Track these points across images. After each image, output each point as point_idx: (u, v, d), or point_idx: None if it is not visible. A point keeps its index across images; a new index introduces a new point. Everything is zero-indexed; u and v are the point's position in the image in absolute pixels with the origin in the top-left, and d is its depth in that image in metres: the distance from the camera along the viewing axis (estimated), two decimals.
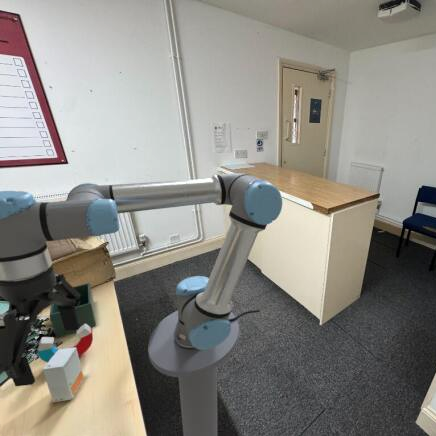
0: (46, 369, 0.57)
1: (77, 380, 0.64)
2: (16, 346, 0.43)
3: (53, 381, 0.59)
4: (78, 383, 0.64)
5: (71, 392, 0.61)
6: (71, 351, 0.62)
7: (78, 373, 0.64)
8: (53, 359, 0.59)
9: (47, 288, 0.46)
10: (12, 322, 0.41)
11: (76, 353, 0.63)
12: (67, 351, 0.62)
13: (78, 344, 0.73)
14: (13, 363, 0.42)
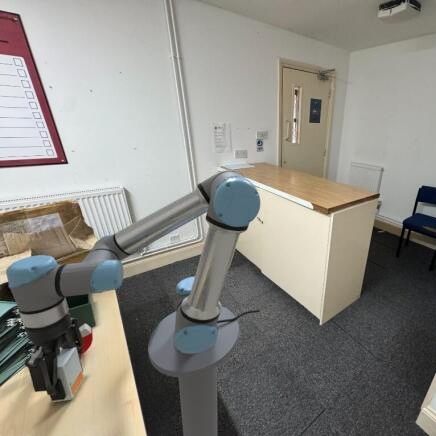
0: None
1: (77, 380, 0.64)
2: (51, 374, 0.56)
3: None
4: (78, 383, 0.64)
5: (71, 392, 0.61)
6: (71, 351, 0.62)
7: (78, 373, 0.64)
8: None
9: (64, 330, 0.56)
10: (41, 363, 0.53)
11: (76, 353, 0.63)
12: (67, 351, 0.62)
13: None
14: (52, 384, 0.57)
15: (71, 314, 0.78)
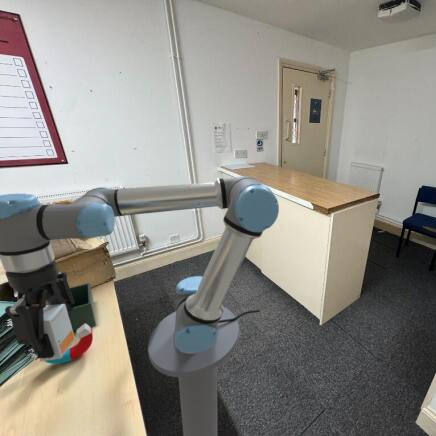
0: None
1: (67, 339, 0.59)
2: (36, 327, 0.52)
3: None
4: (68, 342, 0.59)
5: (60, 350, 0.57)
6: (59, 307, 0.57)
7: (68, 332, 0.59)
8: None
9: (50, 279, 0.52)
10: (24, 311, 0.48)
11: (65, 310, 0.59)
12: (55, 307, 0.57)
13: (78, 344, 0.73)
14: (38, 338, 0.52)
15: (71, 314, 0.78)
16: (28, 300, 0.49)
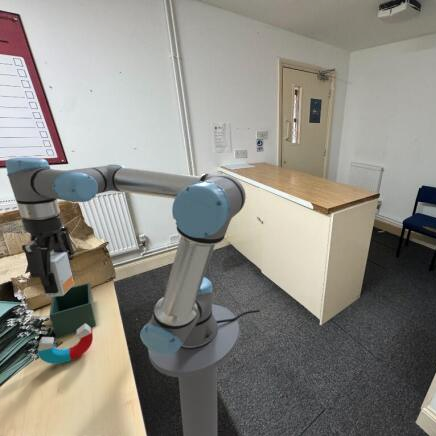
0: None
1: (68, 282, 0.72)
2: (45, 265, 0.65)
3: None
4: (68, 285, 0.73)
5: (62, 289, 0.70)
6: (62, 254, 0.70)
7: (69, 276, 0.73)
8: None
9: (57, 228, 0.65)
10: (36, 249, 0.62)
11: (67, 257, 0.72)
12: (58, 254, 0.70)
13: (78, 344, 0.73)
14: (46, 275, 0.65)
15: (71, 314, 0.78)
16: (39, 242, 0.63)
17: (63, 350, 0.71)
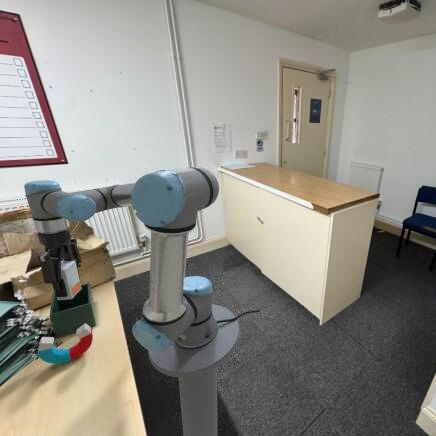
0: None
1: (76, 287, 0.82)
2: (56, 273, 0.75)
3: None
4: (76, 289, 0.83)
5: (71, 293, 0.80)
6: (71, 262, 0.80)
7: (77, 282, 0.82)
8: None
9: (66, 240, 0.75)
10: (49, 259, 0.71)
11: (75, 265, 0.82)
12: (68, 262, 0.80)
13: (78, 344, 0.73)
14: (57, 281, 0.75)
15: (71, 314, 0.78)
16: (52, 253, 0.73)
17: (63, 350, 0.71)
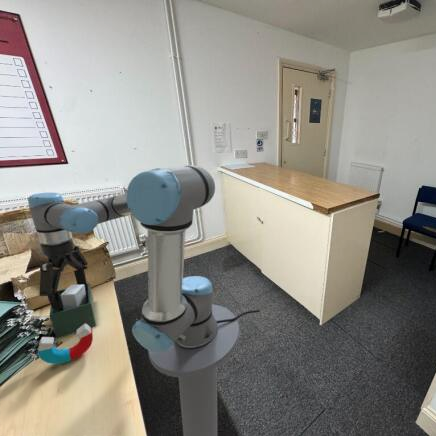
0: (63, 295, 0.79)
1: None
2: (53, 284, 0.74)
3: (67, 305, 0.81)
4: None
5: None
6: (80, 286, 0.84)
7: None
8: (67, 289, 0.82)
9: (69, 251, 0.76)
10: (50, 268, 0.72)
11: (84, 288, 0.86)
12: (77, 286, 0.84)
13: (78, 344, 0.73)
14: (52, 292, 0.73)
15: (71, 314, 0.78)
16: (54, 264, 0.74)
17: (63, 350, 0.71)
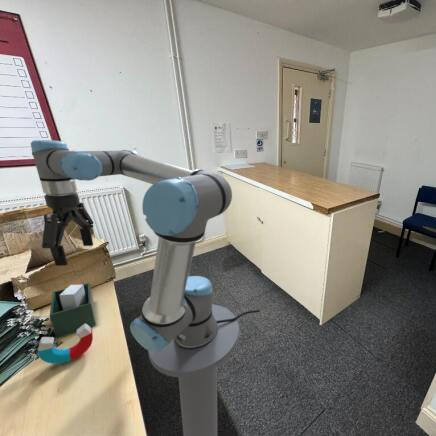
0: (62, 295, 0.79)
1: None
2: (57, 237, 0.69)
3: (66, 305, 0.81)
4: None
5: None
6: (79, 286, 0.84)
7: None
8: (66, 290, 0.82)
9: (74, 204, 0.72)
10: (55, 219, 0.68)
11: (83, 289, 0.86)
12: (76, 286, 0.84)
13: (78, 344, 0.73)
14: (56, 246, 0.69)
15: (71, 314, 0.78)
16: (59, 216, 0.70)
17: (63, 350, 0.71)
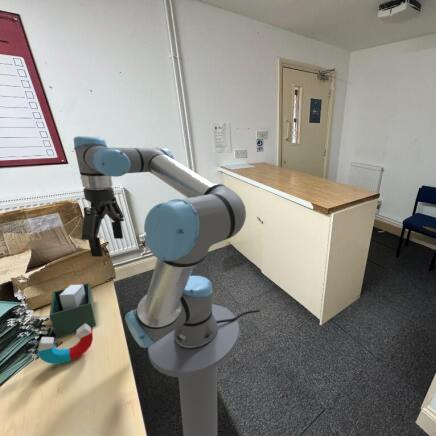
0: (62, 295, 0.79)
1: None
2: (95, 229, 0.73)
3: (66, 305, 0.81)
4: None
5: None
6: (79, 286, 0.84)
7: None
8: (66, 290, 0.82)
9: (110, 198, 0.76)
10: (94, 212, 0.71)
11: (83, 289, 0.86)
12: (76, 286, 0.84)
13: (78, 344, 0.73)
14: (93, 237, 0.72)
15: (71, 314, 0.78)
16: (97, 209, 0.73)
17: (63, 350, 0.71)
